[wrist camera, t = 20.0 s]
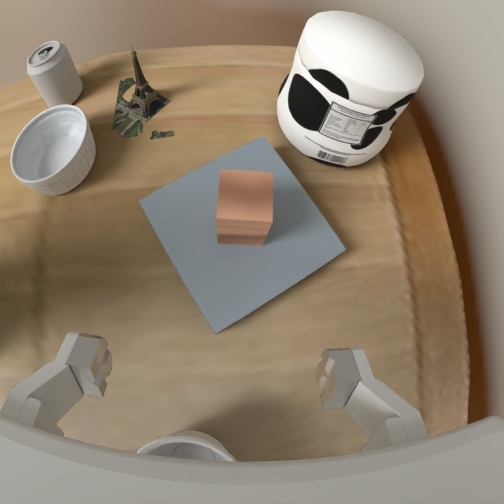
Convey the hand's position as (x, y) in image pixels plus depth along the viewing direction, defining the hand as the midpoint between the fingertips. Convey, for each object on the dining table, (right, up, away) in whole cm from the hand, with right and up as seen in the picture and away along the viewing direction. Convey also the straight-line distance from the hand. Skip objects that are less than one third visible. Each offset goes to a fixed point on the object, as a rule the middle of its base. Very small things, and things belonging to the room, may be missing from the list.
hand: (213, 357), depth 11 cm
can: (-32, +32, +33) cm, 56 cm away
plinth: (0, +6, +29) cm, 30 cm away
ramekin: (-27, +17, +30) cm, 44 cm away
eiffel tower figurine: (-16, +27, +34) cm, 46 cm away
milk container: (+13, +23, +35) cm, 44 cm away
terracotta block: (0, +7, +25) cm, 26 cm away
